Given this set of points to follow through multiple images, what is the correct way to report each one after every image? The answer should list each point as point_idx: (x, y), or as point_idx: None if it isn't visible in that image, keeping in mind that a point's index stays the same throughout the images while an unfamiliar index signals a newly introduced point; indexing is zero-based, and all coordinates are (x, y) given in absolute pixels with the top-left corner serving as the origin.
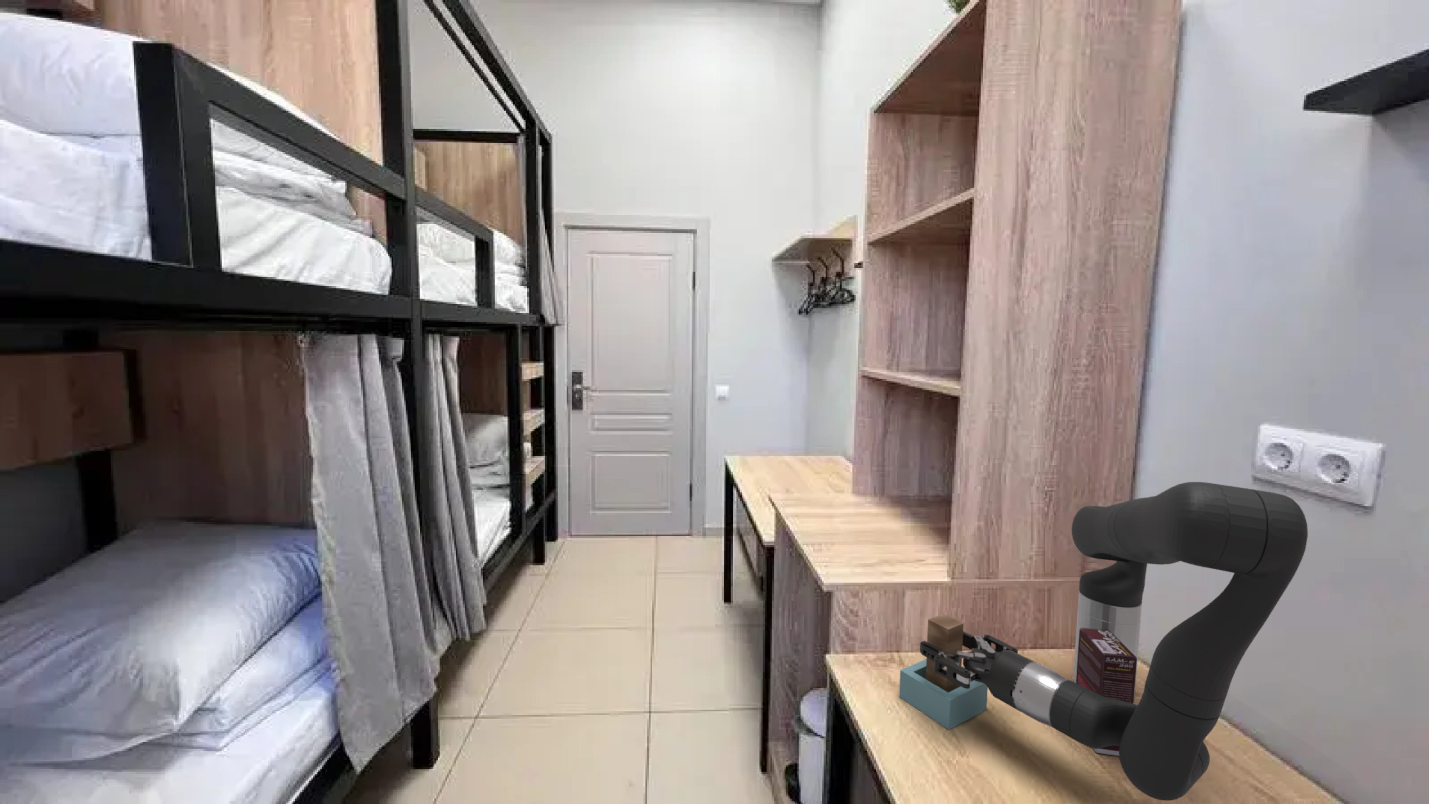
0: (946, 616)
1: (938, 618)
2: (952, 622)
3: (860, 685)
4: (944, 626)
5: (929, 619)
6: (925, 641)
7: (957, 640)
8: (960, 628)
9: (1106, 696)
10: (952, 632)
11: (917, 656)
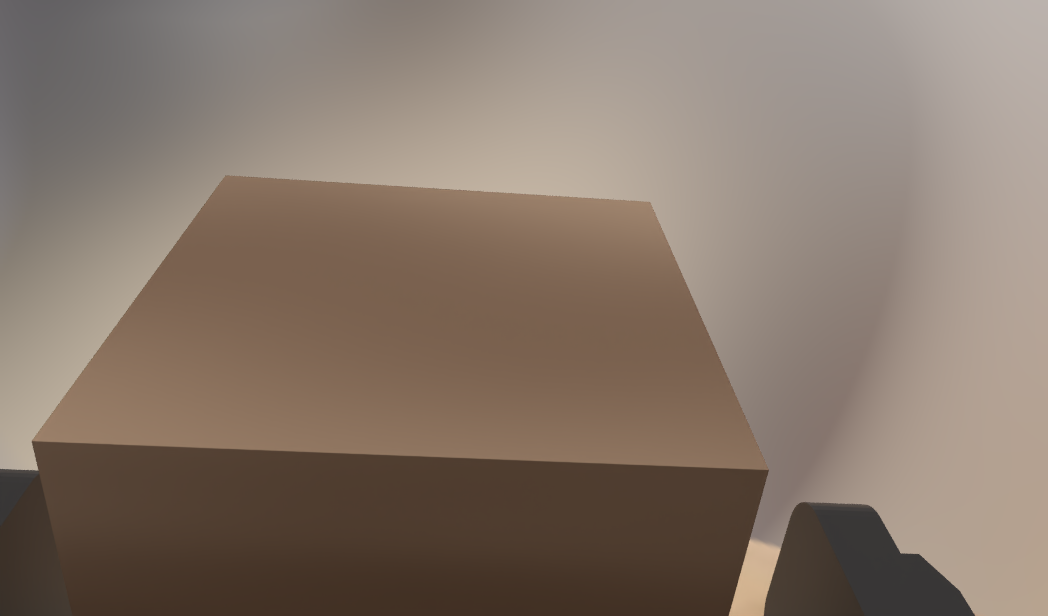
0: (629, 238)
1: (423, 216)
2: (528, 349)
3: None
4: (153, 347)
5: (244, 180)
6: (11, 488)
7: None
8: (613, 556)
9: None
10: (264, 561)
11: (745, 565)
